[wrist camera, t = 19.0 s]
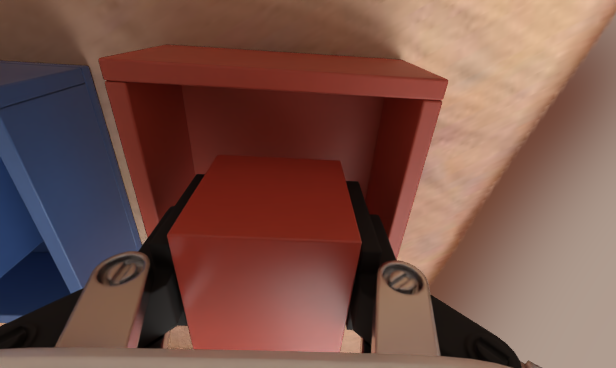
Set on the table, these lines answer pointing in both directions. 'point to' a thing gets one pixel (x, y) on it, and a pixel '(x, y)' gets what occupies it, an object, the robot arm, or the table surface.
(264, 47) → the table surface
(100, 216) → the blue bin
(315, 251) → the red block
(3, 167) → the blue block
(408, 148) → the red bin
